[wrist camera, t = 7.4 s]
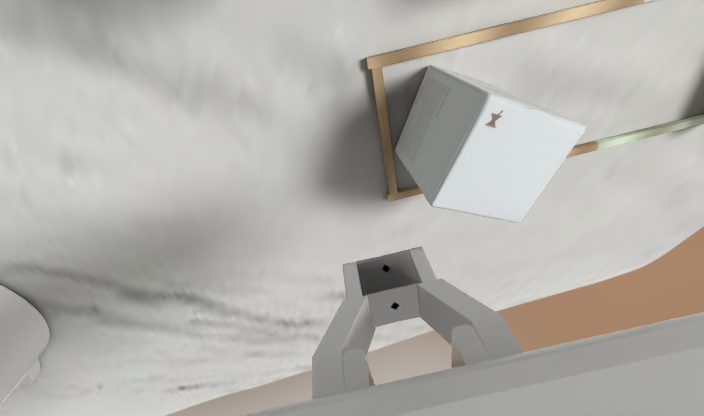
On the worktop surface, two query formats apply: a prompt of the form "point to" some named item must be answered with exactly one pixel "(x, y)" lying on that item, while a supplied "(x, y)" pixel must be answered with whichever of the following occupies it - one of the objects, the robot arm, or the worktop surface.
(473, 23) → the worktop surface
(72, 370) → the worktop surface
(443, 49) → the track
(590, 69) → the worktop surface
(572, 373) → the robot arm
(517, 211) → the product box
